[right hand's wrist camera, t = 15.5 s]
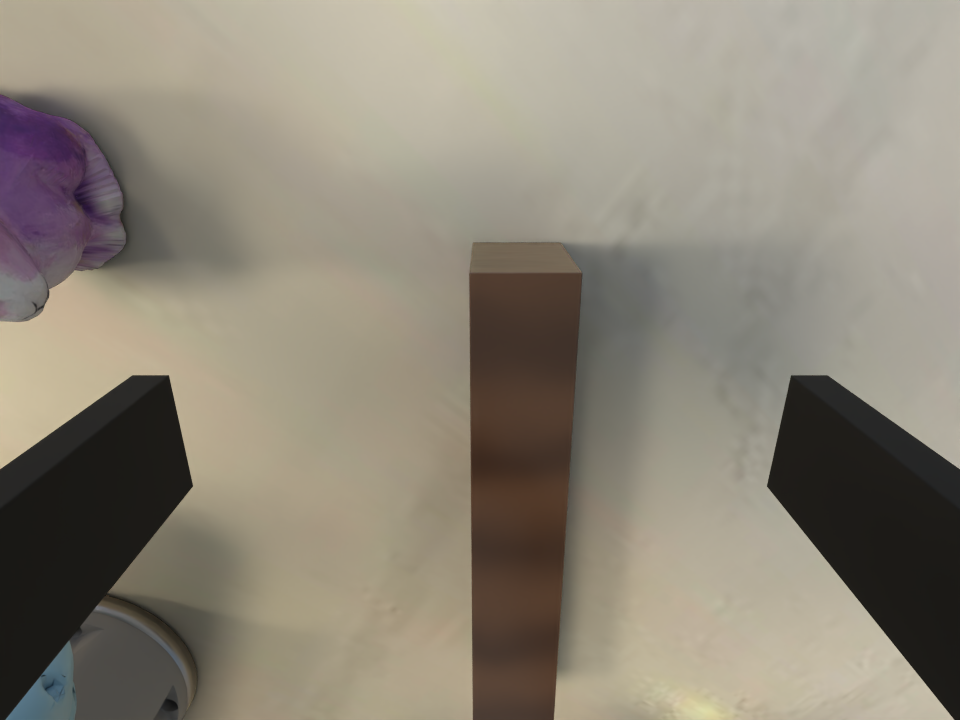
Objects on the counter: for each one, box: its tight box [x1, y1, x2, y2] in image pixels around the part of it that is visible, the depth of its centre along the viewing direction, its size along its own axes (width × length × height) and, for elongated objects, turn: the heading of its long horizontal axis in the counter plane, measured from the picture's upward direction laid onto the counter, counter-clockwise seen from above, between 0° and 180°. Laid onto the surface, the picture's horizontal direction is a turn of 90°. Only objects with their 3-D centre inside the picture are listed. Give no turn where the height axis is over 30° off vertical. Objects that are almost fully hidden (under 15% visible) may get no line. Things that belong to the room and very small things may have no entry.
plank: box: [469, 243, 582, 720], centre depth 36 cm, size 32×5×8 cm, turn 0°
